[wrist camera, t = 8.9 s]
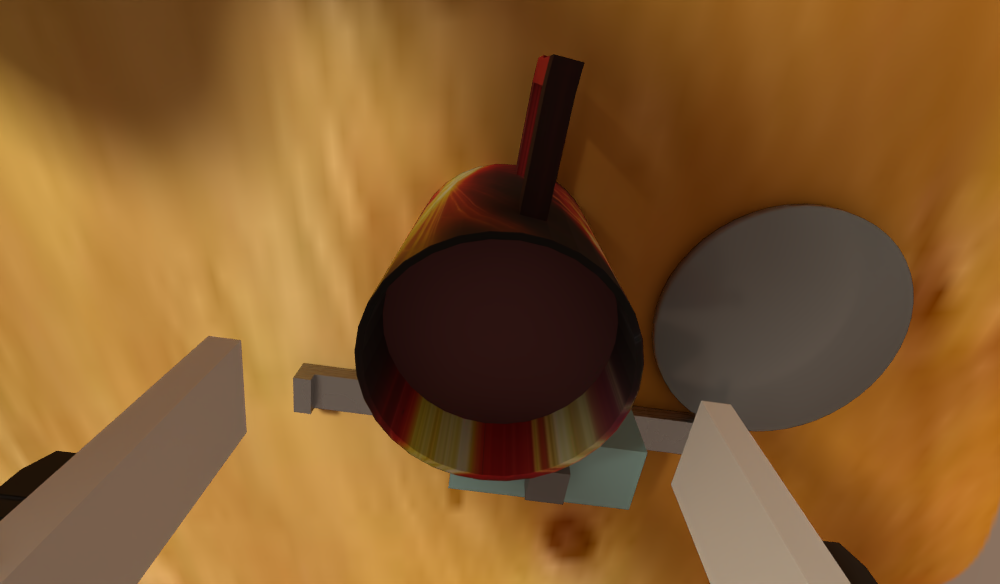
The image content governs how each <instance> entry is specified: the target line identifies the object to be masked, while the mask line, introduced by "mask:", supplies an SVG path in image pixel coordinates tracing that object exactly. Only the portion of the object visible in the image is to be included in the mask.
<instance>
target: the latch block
mask: <svg viewBox="0 0 1000 584" xmlns="http://www.w3.org/2000/svg"><path fill="white" fill-rule="evenodd" d="M646 456H647V450H646V447H645V445H644V442H643V439H642V437H641V434H640V431H639V428H638V426H637V423H636V420H635V417H634V415H633V412H632V409H631V410H630V412H629V413H628V415H627V416H626V418H625V419H624V421H623V422H622V423H621V425H620V426H619V428H618V429H617V431H616V432H615V433H614V434H613V435H612V436H611V437H609V438H608V439H607V440H606V441H605V442H604V443H603V444H602V445H601V446H600V447H599V448H598V449H596V450H595V451H593V452H592V453H590V454H589V455H588V456H586V457H585V458H583V459H582V460H580V461H579V462H576V463H574V464H572V465H570V466H568V467H565V468H563V469H561V470H559V471H557V472H553V473H550V474H546V475H542V476H539V477H535V478H531V479H522V480H513V481H488V480H477V479H472V478H467V477H462V476H457V475H454V474H451V473H450V480H449V487H448V488H452V489H461V490H469V491H477V492H485V493H494V494H502V495H510V496H519V497H525V500H530V501H538V502H547V503H555V504H563V503H564V502H568V503H577V504H585V505H593V506H602V507H610V508H618V509H627V510H629V508H630V505H631V502H632V499H633V496H634V492H635V489H636V486H637V483H638V480H639V477H640V474H641V471H642V468H643V465H644V462H645V459H646Z"/></svg>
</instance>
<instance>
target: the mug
mask: <svg viewBox="0 0 1000 584" xmlns="http://www.w3.org/2000/svg"><path fill="white" fill-rule="evenodd" d="M583 66H584V62H581V61H577V60H573V59H570V58H566V57H562V56H558V55H555V54H553V55H551V56H545V55H543V56H541V57H539V58H538V62H537V66H536V70H535V74H534V78H533V82H532V88H531V93H530V98H529V103H528V108H527V114H526V119H525V124H524V129H523V134H522V140H521V145H520V150H519V155H518V161H517V165H508V164H494V165H488V166H481V167H477V168H474V169H472V170H469V171H466V172H464V173H461V174H460V175H458V176H457V177H455V178H453V179H452V180H450V181H449V182H447V183H446V184H445V185H444V186H443V187H442V188H441V189H440V190H438V191H437V192H436V193H435V194H434V195H433V197H432V198H431V200H430V201H429V203H428V204H427V206H426V207H425V209H424V210H423V212H422V213H421V215H420V217H419V218H418V220H417V222H416V223H415V225H414V227H413V228H412V230H411V232H410V233H409V235H408V237H407V238H406V240H405V242H404V243H403V245H402V247H401V248H400V250H399V252H398V253H397V255H396V257H395V258H394V260H393V262H392V263H391V265H390V267H389V268H388V270H387V272H386V273H385V275H384V277H383V278H382V280H381V282H380V283H379V285H378V287H377V288H376V290H375V292H374V293H373V295H372V297H371V298H370V300H369V301H368V303H367V306H366V308H365V311H364V313H363V316H362V318H361V321H360V324H359V326H358V332H357V338H356V345H355V364H356V376H357V379H358V382H359V386H360V389H361V392H362V395H363V398H364V400H365V402H366V404H367V406H368V408H369V409H370V411H371V413H372V415H373V417H374V418H375V420H376V421H377V422H378V424H379V425H380V426H381V427H382V428H383V430H384V431H385V432H386V433H387V434H388V435H389V437H390V438H391V439H392V440H393V441H395V442H396V443H397V444H398V445H400V446H401V447H402V448H403V449H405V450H406V451H407V452H408V453H409V454H411V455H413V456H414V457H416V458H418V459H420V460H421V461H423V462H425V463H427V464H429V465H430V466H432V467H435V468H437V469H440V470H443V471H446V472H448V473H451V474H454V475H457V476H462V477H467V478H472V479H477V480H488V481H513V480H522V479H531V478H535V477H539V476H542V475H546V474H550V473H553V472H557V471H559V470H561V469H563V468H565V467H568V466H570V465H572V464H574V463H576V462H579V461H580V460H582V459H583V458H585V457H586V456H588V455H589V454H590V453H592V452H593V451H595V450H596V449H598V448H599V447H600V446H601V445H602V444H603V443H604V442H605V441H606V440H607V439H608V438H609V437H611V436H612V435H613V434H614V433H615V432H616V431H617V429H618V428H619V426H620V425H621V423H622V422H623V421H624V419H625V418H626V416H627V415H628V413H629V412H630V410H631V408H632V405H633V403H634V401H635V398H636V396H637V393H638V391H639V389H640V384H641V378H642V372H643V367H644V355H643V338H642V335H641V332H640V328H639V325H638V321H637V318H636V314H635V312H634V311H633V309H632V307H631V305H630V303H629V301H628V299H627V297H626V295H625V293H624V292H623V290H622V288H621V286H620V284H619V282H618V280H617V278H616V276H615V274H614V272H613V271H612V269H611V267H610V265H609V263H608V261H607V259H606V257H605V255H604V253H603V252H602V250H601V248H600V246H599V244H598V242H597V240H596V238H595V236H594V234H593V233H592V231H591V229H590V227H589V225H588V223H587V221H586V219H585V217H584V215H583V214H582V212H581V210H580V208H579V206H578V205H577V203H576V201H575V200H574V199H573V198H572V197H571V195H570V194H569V193H568V192H567V191H566V190H565V188H563V187H562V186H561V185H559V184H558V183H557V182H556V179H557V174H558V170H559V165H560V161H561V156H562V152H563V147H564V143H565V139H566V134H567V130H568V125H569V121H570V116H571V112H572V107H573V103H574V98H575V94H576V91H577V87H578V84H579V80H580V76H581V73H582V69H583Z"/></svg>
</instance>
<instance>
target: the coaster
mask: <svg viewBox="0 0 1000 584" xmlns="http://www.w3.org/2000/svg"><path fill="white" fill-rule="evenodd" d="M912 309H913V284H912V278H911V273H910V271H909V268H908V265H907V262H906V260H905V258H904V256H903V255H902V253H901V251H900V249H899V248H898V246H897V245H896V244H895V243H894V242H893V241H892V239H891V238H890V237H889V236H888V235H887V234H886V233H884V232H883V231H882V230H881V229H879V228H878V227H877V226H875V225H874V224H872V223H870V222H868V221H867V220H865V219H863V218H861V217H858V216H856V215H854V214H851V213H848V212H846V211H843V210H841V209H838V208H833V207H829V206H824V205H815V204H787V205H781V206H775V207H770V208H766V209H763V210H759V211H756V212H752V213H750V214H747V215H745V216H743V217H740V218H738V219H736V220H733V221H732V222H730V223H728V224H726V225H725V226H723V227H721V228H719V229H718V230H716V231H715V232H713V233H712V234H711V235H709V236H708V237H706V238H705V239H704V240H702V241H701V242H700V243H699V244H698V245H697V246H696V247H695V248H694V249H692V250H691V251H690V252H689V253H688V254H687V256H686V257H685V258H684V259H683V260H682V261H681V262H680V264H679V265H678V266H677V268H676V269H675V270H674V272H673V273H672V275H671V276H670V278H669V279H668V281H667V283H666V285H665V287H664V289H663V291H662V293H661V295H660V298H659V301H658V304H657V306H656V310H655V315H654V319H653V329H652V341H653V351H654V355H655V359H656V363H657V365H658V368H659V370H660V372H661V375H662V377H663V379H664V380H665V382H666V384H667V385H668V387H669V389H670V390H671V392H672V393H673V394H674V396H675V397H676V398H677V399H678V400H679V401H680V402H681V403H682V404H683V405H684V406H685V407H686V408H688V409H689V410H690V411H691V412H693V413H695V414H697V411H698V408H699V405H700V403H701V401H708V402H716V403H723V404H731V405H732V407H733V408H734V410H735V411H736V413H737V414H738V416H739V417H740V419H741V420H742V422H743V423H744V425H745V426H746V428H747V429H748V431H773V430H780V429H787V428H791V427H795V426H799V425H803V424H806V423H809V422H812V421H815V420H817V419H820V418H822V417H824V416H826V415H828V414H831V413H833V412H834V411H836V410H838V409H840V408H841V407H843V406H845V405H846V404H848V403H849V402H851V401H852V400H854V399H855V398H856V397H858V396H859V395H860V394H862V393H863V392H864V391H865V390H866V389H867V388H869V387H870V386H871V385H872V384H873V383H874V382H875V381H876V380H877V379H878V378H879V376H880V375H881V374H882V373H883V372H884V371H885V369H886V368H887V367H888V366H889V364H890V363H891V362H892V360H893V359H894V357H895V355H896V354H897V352H898V350H899V349H900V347H901V345H902V342H903V340H904V338H905V336H906V333H907V331H908V327H909V324H910V320H911V316H912Z"/></svg>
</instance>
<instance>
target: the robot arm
mask: <svg viewBox="0 0 1000 584" xmlns="http://www.w3.org/2000/svg"><path fill="white" fill-rule="evenodd" d="M246 432H247V431H246V415H245V399H244V383H243V366H242V350H241V340H235V339H227V338H220V337H212V336H208V337H207V338H206V339H205V340H204V341H202V342H201V343H200V344H199V345H198V346H197V347H196V348H195V349H193V350H192V351H191V352H190V353H189V354H188V355H187V356H186V357H184V358H183V359H182V360H181V361H180V362H179V363H178V364H177V365H175V366H174V367H173V368H172V369H171V370H170V371H169V372H168V373H166V374H165V375H164V376H163V377H162V378H161V379H160V380H159V381H157V382H156V383H155V384H154V385H153V386H152V387H151V388H150V389H148V390H147V391H146V392H145V393H144V394H143V395H142V396H141V397H139V398H138V399H137V400H136V401H135V402H134V403H133V404H132V405H130V406H129V407H128V408H127V409H126V410H125V411H124V412H123V413H121V414H120V415H119V416H118V417H117V418H116V419H115V420H114V421H112V422H111V423H110V424H109V425H108V426H107V427H106V428H105V429H103V430H102V431H101V432H100V433H99V434H98V435H97V436H96V437H94V438H93V439H92V440H91V441H90V442H89V443H88V444H87V445H85V446H84V447H83V448H82V449H81V450H80V451H79V452H77V453H71V452H62V451H56V452H54V453H52V454H50V455H48V456H46V457H44V458H42V459H40V460H38V461H36V462H34V463H32V464H31V465H29V466H27V467H25V468H23V469H21V470H20V471H19V472H17V473H16V474H15V475H14V476H12V477H11V478H10V479H9V480H8V481H6V482H5V483H4V484H3V485H1V486H0V584H137V583H138V582H139V581H140V579H141V578H142V577H143V575H144V574H145V572H146V571H147V570H148V568H149V567H150V565H151V564H152V563H153V561H154V560H155V558H156V557H157V556H158V554H159V553H160V552H161V550H162V549H163V547H164V546H165V545H166V543H167V542H168V540H169V539H170V538H171V536H172V535H173V534H174V532H175V531H176V529H177V528H178V527H179V525H180V524H181V522H182V521H183V520H184V518H185V517H186V515H187V514H188V513H189V511H190V510H191V509H192V507H193V506H194V504H195V503H196V502H197V500H198V499H199V497H200V496H201V495H202V493H203V492H204V491H205V489H206V488H207V486H208V485H209V484H210V482H211V481H212V479H213V478H214V477H215V475H216V474H217V472H218V471H219V470H220V468H221V467H222V466H223V464H224V463H225V461H226V460H227V459H228V457H229V456H230V454H231V453H232V452H233V450H234V449H235V448H236V446H237V445H238V443H239V442H240V441H241V439H242V438H243V436H244V435H245V434H246ZM671 486H672V488H673V491H674V493H675V496H676V498H677V501H678V503H679V506H680V508H681V511H682V513H683V516H684V518H685V521H686V523H687V526H688V529H689V531H690V534H691V536H692V539H693V541H694V544H695V546H696V549H697V551H698V554H699V556H700V559H701V561H702V564H703V566H704V569H705V571H706V574H707V577H708V579H709V582H710V584H878V583H877V582H876V581H875V579H874V578H873V576H872V575H871V574H870V572H869V571H868V570H867V568H866V567H865V566H864V565H863V564H862V563H861V562H860V561H858V560H857V559H856V558H855V557H854V556H853V555H852V554H851V553H850V552H849V551H847V550H846V549H845V548H844V547H843V546H842V545H841V544H840V543H836V542H828V541H822V540H821V538H820V537H819V535H818V534H817V532H816V531H815V529H814V528H813V526H812V525H811V523H810V522H809V520H808V519H807V517H806V516H805V514H804V513H803V511H802V510H801V508H800V507H799V506H798V504H797V503H796V501H795V500H794V498H793V497H792V495H791V494H790V492H789V491H788V489H787V488H786V486H785V485H784V483H783V482H782V480H781V479H780V477H779V476H778V474H777V473H776V471H775V470H774V468H773V467H772V465H771V464H770V462H769V461H768V459H767V458H766V456H765V455H764V453H763V452H762V450H761V449H760V447H759V446H758V444H757V443H756V441H755V440H754V438H753V437H752V435H751V434H750V432H749V431H748V429H747V428H746V426H745V425H744V423H743V422H742V420H741V419H740V417H739V416H738V414H737V413H736V411H735V410H734V408H733V407H732V405H731V404H723V403H716V402H708V401H701V403H700V405H699V408H698V411H697V414H696V416H695V419H694V422H693V425H692V428H691V430H690V433H689V436H688V439H687V442H686V444H685V447H684V450H683V453H682V455H681V458H680V461H679V464H678V467H677V469H676V472H675V475H674V478H673V480H672V483H671Z"/></svg>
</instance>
